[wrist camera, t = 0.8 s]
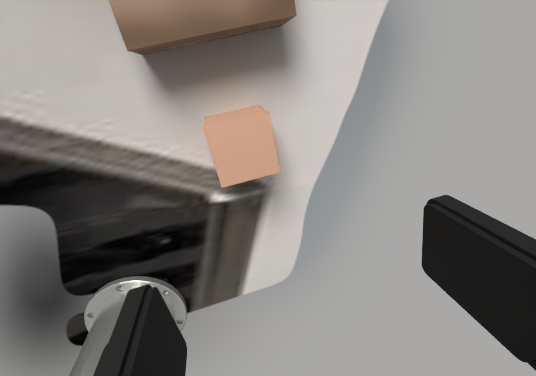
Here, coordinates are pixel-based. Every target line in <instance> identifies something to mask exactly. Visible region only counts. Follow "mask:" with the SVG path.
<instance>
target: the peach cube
mask: <svg viewBox="0 0 536 376" xmlns="http://www.w3.org/2000/svg"><path fill="white" fill-rule="evenodd" d="M203 128H204V131H205V134H206V137H207V141H208V144H209V147H210V151H211V154H212V157H213V161H214V164H215V167H216V171H217V174H218V177H219V180H220V184H221V187H222V188H223V187H227V186H231V185H234V184H238V183H242V182H246V181H249V180H253V179H257V178H261V177H265V176H268V175H272V174H276V173H280V172H281V171H280V166H279V161H278V156H277V151H276V146H275V141H274V136H273V130H272V125H271V120H270V115H269V111H267V110H266V109H264V108H262V107H261V106H259V105H256V106H252V107H247V108H243V109H239V110H235V111H231V112H226V113H222V114H218V115H214V116H210V117H205V119H204V127H203Z"/></svg>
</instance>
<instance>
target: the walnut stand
mask: <svg viewBox="0 0 536 376" xmlns="http://www.w3.org/2000/svg"><path fill="white" fill-rule="evenodd" d="M109 2H110V5H111V8H112V10H113V13H114V16H115V18H116V21H117V24H118V26H119V29H120V32H121V34H122V37H123V40H124V42H125V45H126V48H127V50H128V51H131V52H135V53H138V54H142V55H143V54H147V53H152V52H157V51H162V50H166V49H171V48H176V47H181V46H185V45H190V44H195V43H200V42H204V41H209V40H214V39H219V38H223V37H228V36H233V35H238V34H242V33H247V32H252V31H257V30H261V29H266V28H271V27H276V26H280V25H283V24H284V23H286V22H287V21H289V20H290V19H292V18H293V17H295V16H296V10H295V3H294V0H109Z"/></svg>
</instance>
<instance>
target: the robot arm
mask: <svg viewBox="0 0 536 376" xmlns="http://www.w3.org/2000/svg"><path fill="white" fill-rule="evenodd" d="M422 267H423V270H424V271H425V273H426V274H427V275H428V276H429V277H430V278H431V279H432V280H433V281H434V282H436V283H437V284H438V285H439V286H440V287H441V288H442V289H443V290H444V291H445V292H446V293H447V294H448V295H449V296H450V297H452V298H453V299H454V300H455V301H456V302H457V303H458V304H459V305H460V306H461V307H462V308H464V309H465V310H466V311H467V312H468V313H469V314H470V315H471V316H472V317H473V318H474V319H475V320H477V322H479V323H480V324H481V325H482V326H483V327H484V328H485V329H486V330H487V331H488V332H489V333H490V334H491V335H493V336H494V337H495V338H496V339H497V340H498V341H499V342H500V343H501V344H502V345H503V346H504V347H506V348H507V349H508V350H509V351H510V352H511V353H512V354H513V355H514V356H516V357H517V358H518V359H519V360H521V361H523V362H527V363H529V365H531V366H532V367H533V368H534V369H535V370H536V239H534V238H532V237H529V236H528V235H525V234H524V233H522V232H520V231H518V230H516V229H514V228H512V227H510V226H508V225H506V224H504V223H502V222H500V221H498V220H496V219H494V218H492V217H490V216H488V215H486V214H484V213H482V212H481V211H479V210H477V209H474V208H473V207H470V206H469V205H467V204H465V203H462V202H461V201H459V200H457V199H455V198H453V197H451V196H449V195H443V196H440V197H436V198H433V199H430V200H429V201H428V202H427V205H425V207H424V217H423V244H422ZM186 316H187V306H186V302H185V300H184V298H183V296H182V295H181V293H180V292H179V291H178V290H177V289H176V288H175V287H173V286H172V285H170V284H168V283H167V282H165V281H162V280H159V279H156V278H151V277H142V276H134V277H126V278H122V279H117V280H115V281H112V282H110V283H108V284H106V285H105V286H103V287H101V288H100V289H99V290H98V291H97V292H96V293H95V294H94V295H93V297H92V298H91V299H90V302H89V303H88V305H87V308H86V310H85V314H84V320H85V325H86V328H87V330H88V331H89V334H88V336H87V338H86V340H85V342H84V344H83V346H82V349H81V351H80V353H79V355H78V357H77V359H76V361H75V364H74V366H73V368H72V370H71V372H70V374H69V376H185V371H186V358H187V347H186V342H185V340H184V338H183V336H182V334H181V330H182V329H183V327H184V325H185V322H186Z"/></svg>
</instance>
